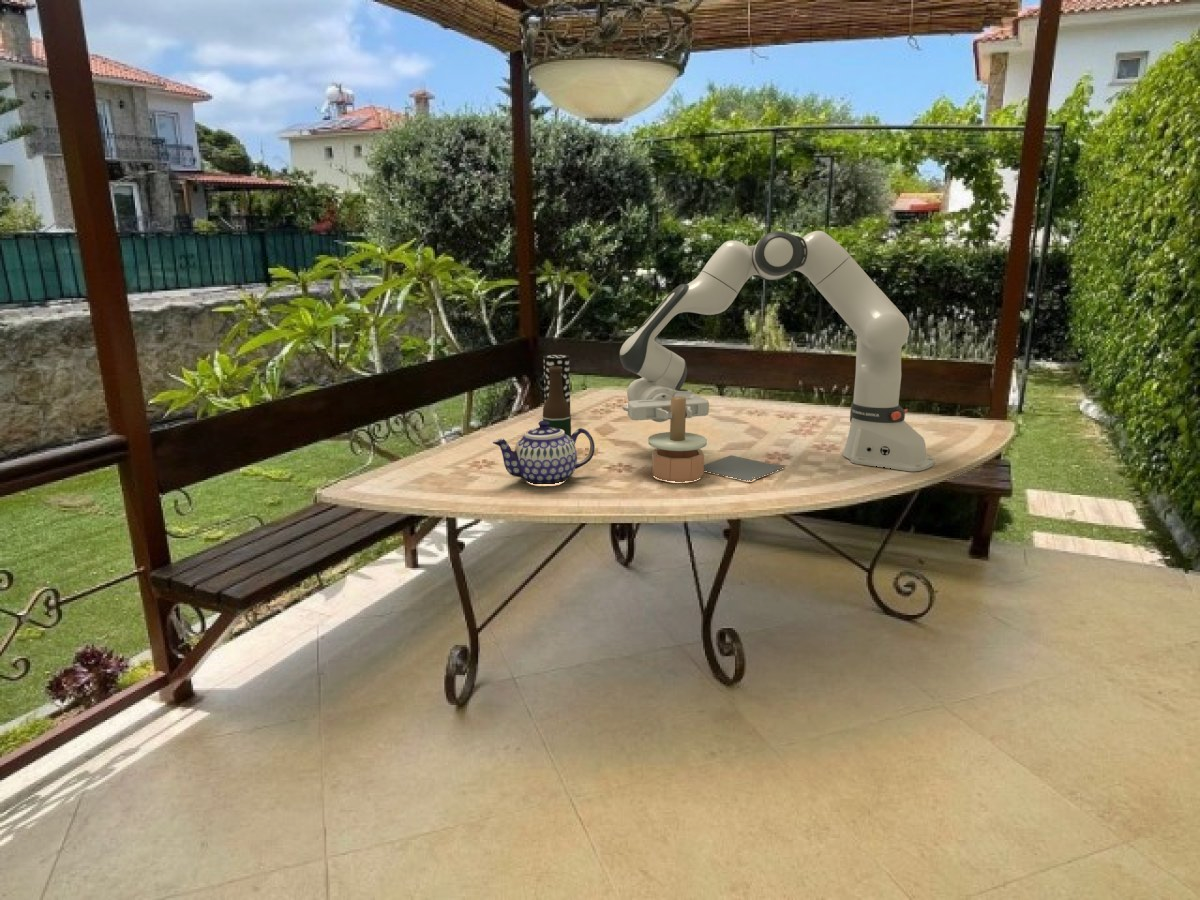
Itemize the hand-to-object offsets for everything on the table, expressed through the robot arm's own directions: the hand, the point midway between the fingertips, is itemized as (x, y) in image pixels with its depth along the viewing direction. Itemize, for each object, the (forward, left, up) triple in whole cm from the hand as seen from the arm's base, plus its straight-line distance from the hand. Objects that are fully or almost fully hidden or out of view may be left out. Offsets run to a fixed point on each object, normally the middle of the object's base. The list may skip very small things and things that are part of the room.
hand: (679, 415), depth 176 cm
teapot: (+22, +24, -16) cm, 36 cm away
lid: (+1, 0, -7) cm, 7 cm away
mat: (-7, -15, -15) cm, 23 cm away
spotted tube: (+70, -25, -15) cm, 76 cm away
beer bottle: (+36, +7, -15) cm, 40 cm away
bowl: (+1, 0, -15) cm, 15 cm away
